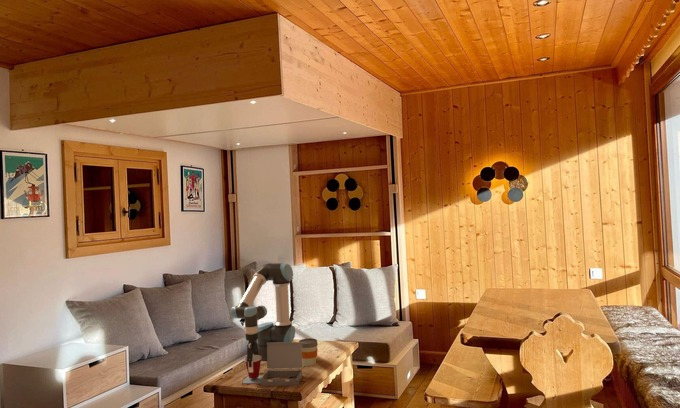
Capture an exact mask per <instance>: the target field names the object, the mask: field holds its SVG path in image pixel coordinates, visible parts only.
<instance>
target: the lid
mask: <svg viewBox="0 0 680 408" xmlns="http://www.w3.org/2000/svg"><path fill="white" fill-rule="evenodd" d="M278 370H302V371H303V365H302V342H299V341H295V342H294V341H292V342H277V343H267V360H266V371H278Z"/></svg>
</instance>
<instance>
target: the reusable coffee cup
mask: <svg viewBox="0 0 680 408" xmlns="http://www.w3.org/2000/svg"><path fill="white" fill-rule="evenodd" d="M298 342H302V366H304V367H312V366H315V365H317V357H318V345H319V343H318V339H316V338H302V339H300V340H299V341H298Z"/></svg>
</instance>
